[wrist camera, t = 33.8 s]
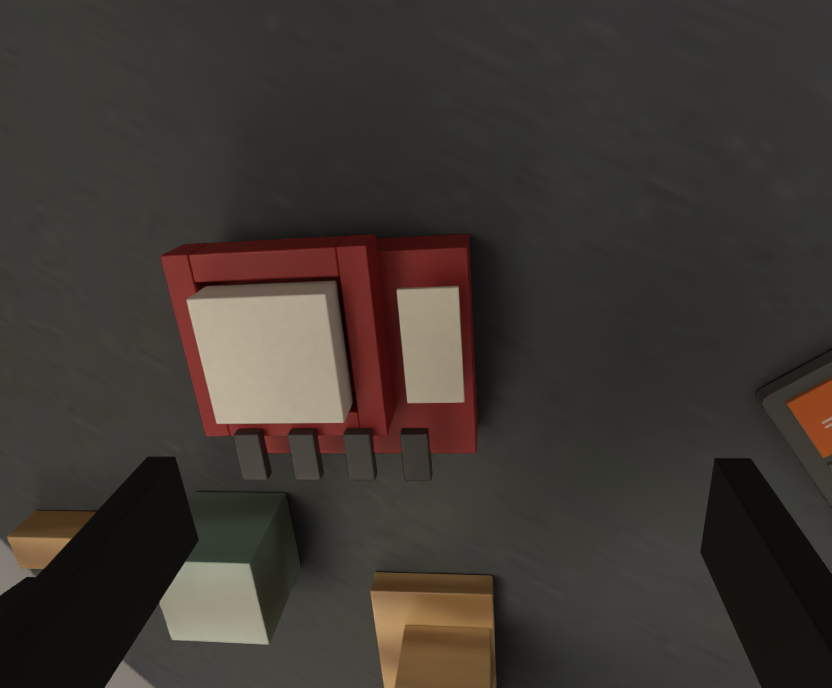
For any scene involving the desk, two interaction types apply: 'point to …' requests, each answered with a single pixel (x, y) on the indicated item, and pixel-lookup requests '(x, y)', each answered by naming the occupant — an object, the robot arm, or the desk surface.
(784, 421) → the calculator
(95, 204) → the desk surface
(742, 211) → the desk surface
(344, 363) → the white block
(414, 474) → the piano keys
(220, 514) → the mallet
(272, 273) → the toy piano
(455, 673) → the stand
